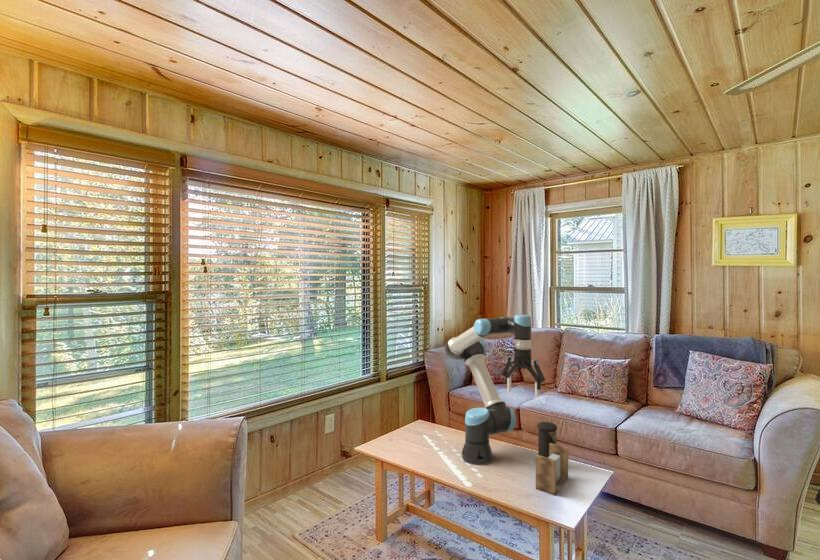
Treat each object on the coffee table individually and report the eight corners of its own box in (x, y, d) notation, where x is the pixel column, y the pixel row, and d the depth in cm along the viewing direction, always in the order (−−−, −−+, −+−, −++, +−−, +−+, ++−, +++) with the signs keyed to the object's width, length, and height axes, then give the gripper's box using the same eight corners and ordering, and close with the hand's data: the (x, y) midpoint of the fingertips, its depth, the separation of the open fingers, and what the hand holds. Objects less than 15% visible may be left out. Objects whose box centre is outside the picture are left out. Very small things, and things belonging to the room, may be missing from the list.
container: (558, 470, 187) (558, 427, 187) (538, 469, 189) (538, 426, 189) (555, 462, 196) (555, 420, 196) (536, 460, 198) (536, 419, 197)
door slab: (542, 484, 173) (542, 461, 173) (551, 475, 181) (551, 453, 181) (552, 487, 170) (552, 463, 170) (560, 478, 178) (560, 455, 178)
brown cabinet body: (535, 488, 172) (535, 455, 171) (549, 473, 185) (549, 442, 185) (555, 495, 166) (555, 461, 166) (569, 479, 179) (569, 447, 179)
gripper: (494, 346, 195) (494, 390, 195) (546, 352, 179) (546, 400, 179) (501, 344, 201) (502, 387, 201) (552, 350, 185) (552, 396, 185)
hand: (522, 393), depth 190 cm, fingers open, 13 cm apart
